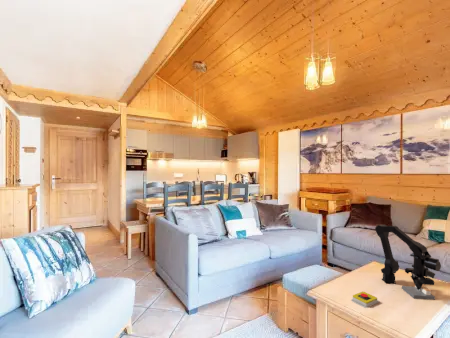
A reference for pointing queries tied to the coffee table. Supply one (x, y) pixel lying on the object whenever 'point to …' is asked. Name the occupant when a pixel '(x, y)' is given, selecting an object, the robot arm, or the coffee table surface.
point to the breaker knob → (425, 290)
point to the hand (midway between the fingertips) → (418, 289)
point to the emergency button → (364, 299)
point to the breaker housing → (417, 293)
